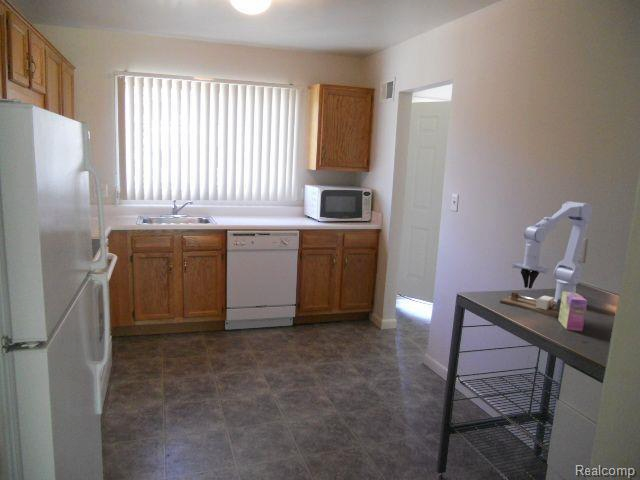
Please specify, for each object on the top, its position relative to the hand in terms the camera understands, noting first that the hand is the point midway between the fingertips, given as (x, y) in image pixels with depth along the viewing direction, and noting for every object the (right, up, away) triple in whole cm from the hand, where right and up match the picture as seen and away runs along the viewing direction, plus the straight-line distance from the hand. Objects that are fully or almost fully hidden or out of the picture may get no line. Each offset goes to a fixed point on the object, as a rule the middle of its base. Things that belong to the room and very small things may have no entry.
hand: (528, 287), depth 197 cm
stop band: (+8, -8, -3) cm, 12 cm away
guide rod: (+4, -6, +1) cm, 8 cm away
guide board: (+4, -8, +2) cm, 9 cm away
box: (+7, -13, -20) cm, 24 cm away
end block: (+11, -10, -5) cm, 16 cm away
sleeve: (+6, -8, -1) cm, 10 cm away
